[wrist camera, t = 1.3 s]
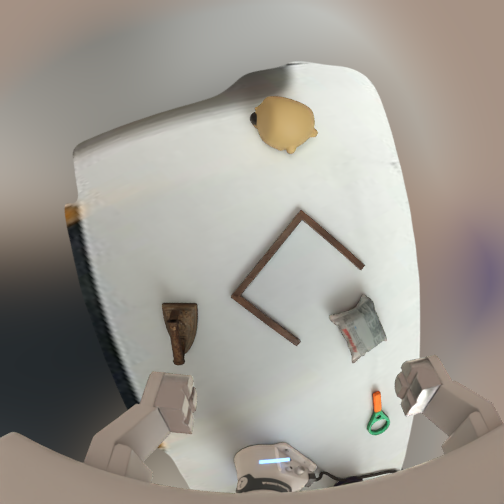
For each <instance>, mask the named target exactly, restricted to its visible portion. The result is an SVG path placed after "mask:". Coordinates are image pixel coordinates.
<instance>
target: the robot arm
mask: <svg viewBox="0 0 504 504" xmlns="http://www.w3.org/2000/svg"><path fill="white" fill-rule="evenodd" d="M401 369H402V372H400V373H399V374H398V375H397V377H396V380H395V392H396V394H397V396H398V397H399V398H401V399H402V402H401V407H402V409H403V412H404V414H405V416H410V415H414V414H417V413H421V412H422V414H424V415H425V416H426V417H427V418H428V419H429V420H431V421H432V422H433V423H434V424H435V425H436V426H437V427H439V428H440V429H441V430H442V431H443V432H444V433H446V434H447V435H448V436H449V438H448V439H447V440H446V441H445V442H444V443H443V444H442V449H443V452H444V455H442V456H440V457H437V458H435V459H432V460H430V461H427V462H424V463H422V464H419V465H416V466H413V467H411V468H408V469H405V470H403V469H401V471H398V472H397V471H384V472H379V473H375V474H370V475H365V476H360V477H357V479H363V478H368V477H373V476H377V475H382V474H387V473H392V474H388V475H385V476H381V477H377V478H373V479H369V480H365V481H361V482H356V483H351V484H346V485H341V486H335V487H329V488H322V489H315V490H306V491H299V490H300V489H302V488H303V487H309V486H310V485H311V484H312V483H313V482H315V481H319V480H320V479H321V478H322V476H323V474H326V475H328V476H329V477H331V478H332V479H334V480H336V481H341V482H345V481H347V480H348V479H339V478H337V477H335V476H333V475H331V474H330V473H328V472H325V471H323V472H320V474H319V477H318V478H316V476H315V474H314V473H313V472H314V471H315V469H316V464H315V463H314V462H312V461H311V460H309V459H308V458H306V457H305V456H304V455H302V454H301V453H299V452H298V451H297V450H295V449H294V448H293V447H291V446H290V445H289V444H287V443H278V444H274V445H254V446H250V447H247V448H244V449H242V450H241V451H239V452H238V453H237V454H236V455H235V457H234V464H235V467H236V471H237V477H238V483H237V488H236V493H224V492H210V491H200V490H191V489H183V488H177V487H171V486H165V485H159V484H155V483H151V482H152V477H153V472H152V471H151V470H150V469H149V468H148V467H147V466H146V465H145V463H144V462H143V461H144V460H145V459H146V458H147V457H148V456H149V455H150V454H151V453H152V452H153V451H154V450H155V449H156V448H157V447H158V446H159V445H160V444H161V443H162V442H163V441H164V440H165V439H166V437H167V436H168V435H169V434H170V432H176V433H187V434H192V431H193V425H194V417H193V413H194V412H195V411H196V408H197V392H196V388H195V387H193V382H194V381H193V377H192V375H183V374H173V373H164V372H155V371H152V373H151V374H150V376H149V379H148V381H147V384H146V387H145V390H144V393H143V396H142V399H141V402H140V404H135V405H134V406H133V407H131V408H130V409H129V410H128V411H126V412H125V413H124V414H122V415H121V416H120V417H118V418H117V419H116V420H114V421H113V422H112V423H111V424H109V425H108V426H106V427H105V428H104V429H102V430H101V431H100V432H98V433H97V434H95V435H94V437H93V439H92V442H91V444H90V447H89V450H88V453H87V456H86V458H85V461H84V463H81V462H79V461H76V460H74V459H71V458H69V457H66V456H64V455H62V454H59V453H57V452H55V451H53V450H50V449H48V448H46V447H44V446H42V445H40V444H38V443H36V442H34V441H32V440H30V439H28V438H26V437H25V436H23V435H21V434H19V433H16V432H12V433H9V434H7V435H5V436H3V437H1V438H0V504H504V423H503V422H502V420H501V418H500V416H499V415H498V413H497V411H496V409H495V407H494V406H493V404H492V403H491V402H490V401H488V400H487V399H485V398H483V397H481V396H480V395H478V394H476V393H475V392H473V391H471V390H470V389H468V388H466V387H465V386H463V385H461V384H460V383H458V382H456V381H452V380H451V378H450V376H449V375H448V373H447V371H446V369H445V368H444V366H443V364H442V363H441V362H440V360H439V358H438V357H437V356H436V355H433V356H428V357H423V358H419V359H414V360H410V361H405V362H404V363H403V364H402V366H401Z"/></svg>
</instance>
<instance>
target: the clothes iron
mask: <svg viewBox="0 0 504 504" xmlns="http://www.w3.org/2000/svg"><path fill="white" fill-rule="evenodd" d="M162 309H163V316H164V321H165V324H166V328H167V330H168V333H169V335H170V337H171V344H172V350H173V357H174V360H173V362H174V364H176V365H182V364H184V362H185V360H184V356H185V354H186V353H187V352H188V350H189V349H190V347H191V346H192V344H193V341H194V338H195V335H196V330H197V320H198V309H197V304H196V303H163V304H162Z"/></svg>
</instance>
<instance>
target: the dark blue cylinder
mask: <svg viewBox="0 0 504 504" xmlns="http://www.w3.org/2000/svg"><path fill="white" fill-rule="evenodd" d="M357 477H358V476H353V477H348V478H345V479H348V480H347V481H345V482H341V481H339V482H337V483H336V484H335V485H334V486H333V487H335V486H341V485H346V484H351V483H356V482H361V481H363V480H362V479H357Z"/></svg>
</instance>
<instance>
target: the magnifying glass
mask: <svg viewBox="0 0 504 504" xmlns="http://www.w3.org/2000/svg"><path fill="white" fill-rule="evenodd" d="M373 404H374V413H373V415H372V417H371V419H370V421H369V423H368V426H367V429H368V432H369V433H370V434H372V435H378V434H381V433H383V432H384V431H385V430H386V429H387V428H388V427H389V424H390V420H389V418H388V417H387V416H386V415H385V414H384V413H383V412H382V411H381V393H380V392H379V391H378V392H375V393H373ZM378 415H380V416H379V417H377V416H378ZM381 419H386V420H387V422H386V424H385V425H384V427H382V428H381V429H379V430H376V431H372V430H371V426H372V425H373V424H374V423H375V422H376V421H378V420H381Z"/></svg>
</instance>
